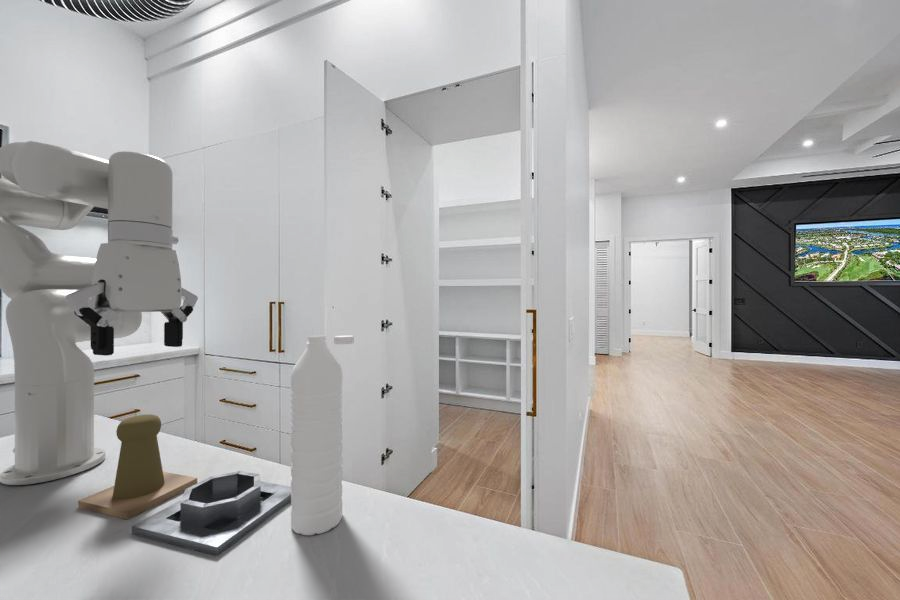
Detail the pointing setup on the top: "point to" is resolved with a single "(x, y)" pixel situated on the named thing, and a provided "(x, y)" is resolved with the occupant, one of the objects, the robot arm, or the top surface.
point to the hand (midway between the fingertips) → (141, 350)
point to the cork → (138, 457)
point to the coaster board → (132, 507)
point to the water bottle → (316, 438)
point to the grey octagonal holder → (216, 512)
